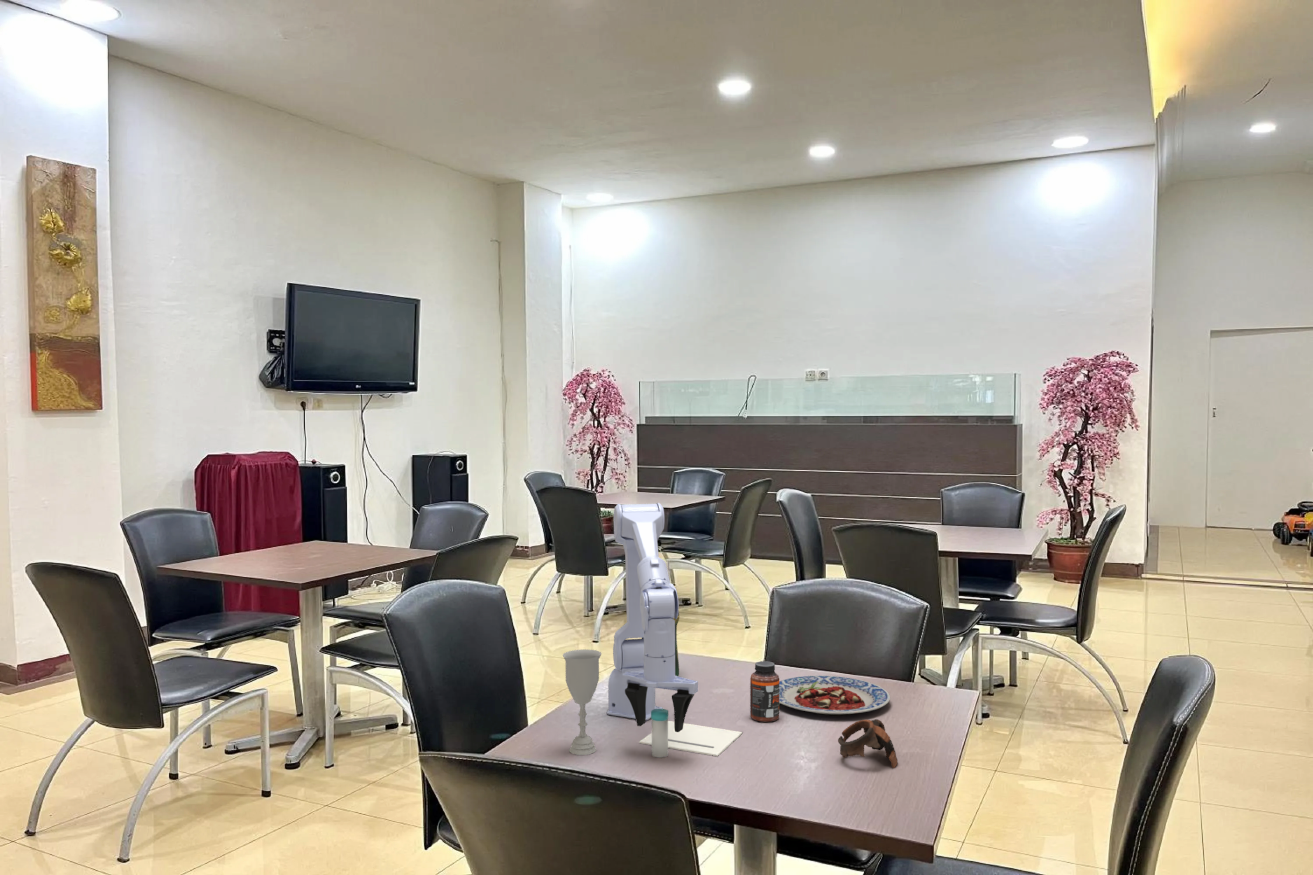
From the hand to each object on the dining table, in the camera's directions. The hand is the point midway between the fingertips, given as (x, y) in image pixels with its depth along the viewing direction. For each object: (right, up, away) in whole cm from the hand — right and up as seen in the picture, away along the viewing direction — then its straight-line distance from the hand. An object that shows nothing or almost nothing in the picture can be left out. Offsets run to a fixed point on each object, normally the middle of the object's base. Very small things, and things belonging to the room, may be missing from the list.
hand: (659, 727), depth 171 cm
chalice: (-14, -5, +3) cm, 16 cm away
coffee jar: (0, -4, +49) cm, 49 cm away
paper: (+6, -5, +8) cm, 11 cm away
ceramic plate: (+37, -4, +30) cm, 48 cm away
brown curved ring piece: (+38, -5, -3) cm, 39 cm away
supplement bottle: (+22, -5, +20) cm, 30 cm away
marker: (0, -5, 0) cm, 5 cm away
